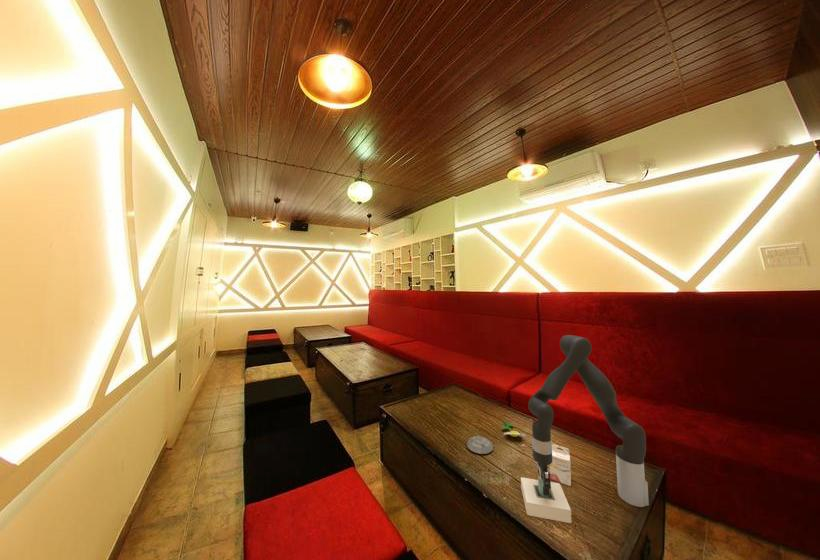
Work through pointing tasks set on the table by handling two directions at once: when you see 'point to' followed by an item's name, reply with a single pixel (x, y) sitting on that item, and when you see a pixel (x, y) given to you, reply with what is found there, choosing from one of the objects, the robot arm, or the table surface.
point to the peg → (541, 486)
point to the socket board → (545, 501)
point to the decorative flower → (512, 433)
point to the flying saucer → (479, 445)
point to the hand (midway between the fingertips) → (543, 487)
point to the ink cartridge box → (560, 465)
